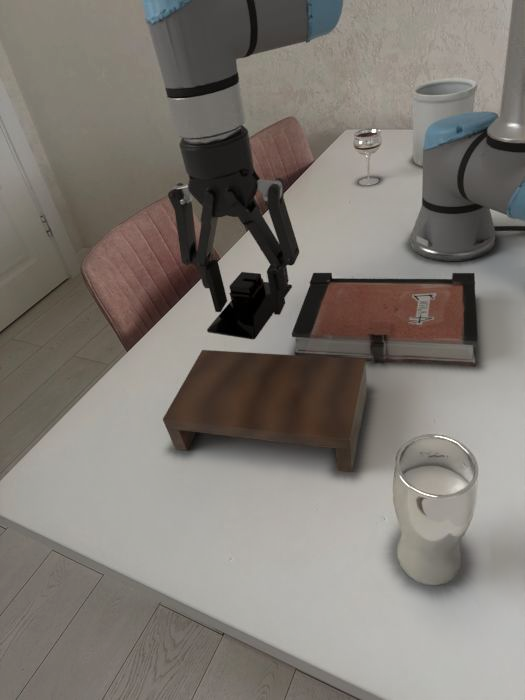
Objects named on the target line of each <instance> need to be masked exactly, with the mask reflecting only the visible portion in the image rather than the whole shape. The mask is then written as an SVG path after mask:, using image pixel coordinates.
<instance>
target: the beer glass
mask: <svg viewBox="0 0 525 700" xmlns="http://www.w3.org/2000/svg"><path fill="white" fill-rule="evenodd" d="M478 478H479V464H478V461H477V458H476V457H475V455H474V454H473V452H472V451H471V450H470V449H469V448H468V447H467V446H466V445H465V444H463V443H462V442H460V441H459V440H457V439H454V438H453V437H450V436H447V435H442V434H435V433H433V434H432V433H431V434H421V435H417V436H413V437H412V438H410V439H408V440H406V441H405V442H404V443H403V444H402V445H401V446H400V447H399V448H398V451H397V452H396V455H395V460H394V471H393V478H392V501H393V503H392V504H393V507H394V513H395V516H396V519H397V523H398V527H399V529H400V533H401V536H400V538H399V541H398V544H397V549H396V552H397V560H398V562H399V565H400V567H401V568H402V570H403V571H404V573H406V575H407V576H408V577H410V578H411V579H412V580H414V581H416V582H417V583H420V584H423V585H426V586H440V585H444V584H446V583H448V582H450V581H452V580H453V579H454V578H455V577H456V576H457V574H458V572H459V570H460V567H461V551H460V548H459V546H460V543H461V541H462V540H463V538H464V536H465V535H466V533H467V531H468V529H469V527H470V525H471V522H472V520H473V518H474V514H475V510H476V505H477V498H478V483H479V482H478V481H479V480H478Z"/></svg>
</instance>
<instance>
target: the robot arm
mask: <svg viewBox="0 0 525 700" xmlns="http://www.w3.org/2000/svg"><path fill="white" fill-rule="evenodd" d="M141 1H142V5H143V10H144V15H145V17H144V20H145V23H146V24H147V26H148V30H149V35H150V37H151V40H152V44H153V49H154V51H155V55H156V58H157V63H158V66H159V71H160V73H161V77H162V80H163V84H164V88H165V89H164V90H165V92H166V98H167V102H168V106H169V109H170V114H171V118H172V122H173V127H174V130H175V134H176V136H177V137H179V138H181V139H180V142H179V149H180V154H181V157H182V160H183V165H184V168H185V173H186V174H187V175H188V183H182V182H178V183H177V184H175V186H174V187H172V189H170V190H169V191H168V193H167V197H168V199H169V202H170V204H171V205H172V208H173V209H174V217H175V221H176V222H175V224H176V231H177V236H178V245H179V251H180V252H179V253H180V259H181V262H182V264H184V265H186V266H188V265H193V266H195V267H196V268H197V269H198V272H199V275H200V276H199V277H200V279H201V284H202V286H203V288H204V289H209V292H210V296H211V300H212V304H213V308H214V311H215V313H221V312H222V311H223V310H224V308H225V307H226V304H227V302H228V297H227V294H226V290H225V286H224V281H223V278H222V274H221V268H220V265H219V260H218V259H212V257H213V255H214V254H213V248H214V243H215V237H216V232H217V227H218V220H219V218H223V217H226V216H228V217H231V218H238V220H239V221H240V223H241V224H242V225H244V226H246V228H247V230H248V231H249V233H250V235H251V236H252V238H253V239H254V241H255V242H256V244H257V245H258V247H259V249H260V251H261V252H262V253H263V255H264V257H265V259H266V260H267V262H268V263H269V266H268V268H267V270H266V275H267V276H266V277H267V281H268V282H269V287H270V293H271V298H272V304H273V309H274V313H273V315H277V316H278V315H280V316H281V313H282V311H283V309H284V307H285V304H286V299H285V298H286V297H285V298H284V292H283V290H285V289H286V287H287V284H289V281H290V280H289V273H288V267H287V266H291V267H292V266H294V265H295V263H296V261H297V259H298V257H299V255H300V249H299V245H298V241H297V239H296V234H295V232H294V228H293V225H292V221H291V218H290V214H289V212H288V209H287V205H286V201H285V198H284V194H285V181H284V179H283V178H281V177H275V178H274V180H271V179H270V180H269V179H262V178H260V176H259V174H258V173H257V172H256V170H255V167H254V159H253V154H252V146H251V141H250V136H249V130H248V129H247V128H246V127H245V126H244V124H245V122H246V115H245V113H246V112H245V108H244V102H243V96H242V90H241V83H240V76H239V72H238V66H237V60H238V59H244V58H247V57H250V56H252V55H257V54H261V53H264V52H268V51H272V50H278V49H281V48H285V47H289V46H293V45H297V44H300V43H301V44H302V43H306V44H308V43H310V42H311V41H312V40H315V39H318V38H320V37H323V36H326V35H328V34H330V33H331V32H333V31H334V29H335V28H336V27H337V25H338V23H339V22H340V19H341V16H342V12H343V7H344V0H141ZM510 13H511V14H510V21H509V27H508V28H509V30H508V37H507V46H506V47H507V49H506V55H505V56H506V57H505V64H504V75H503V82H502V83H503V85H502V93H501V102H500V111H499V114H498V113H496V112H495V111H494V112H493V111H473V112H472V113H465V114H459V115H455V116H451V117H447V118H444V119H441V120H438V121H436V122H434V123H433V124H431V125H430V126H429V127H428V129H427V130H426V133H425V141H424V147H423V166H422V182H421V183H422V186H421V190H422V191H421V197H422V198H421V207H420V209H419V212H418V214H417V217H416V220H415V222H414V226H413V228H412V230H411V233H410V245H411V249H412V250H413V251H414V252H415V253H416V254H418V255H420V256H422V257H424V258H426V259H430V260H433V261H434V260H435V261H439V262H461V261H462V262H463V261H469V260H473V259H477V258H479V257H482V256H484V255H486V254H488V252H490V251H492V249H493V247H494V246H495V242H496V241H495V240H496V232H525V225H494V220H493V217H492V212H491V210H492V211H495V212H498V213H500V214H503V215H505V216H507V217H508V218H509V219H512V220H519V221H523V222H525V0H512V1H511V12H510ZM258 192H259V193H260V194H261V195H262V198H263V201H264V202H267V209H268V214H269V216H270V220H271V222H272V226H273V229H274V232H275V235H276V236H275V235H274V233H273V231H272V230H271V228H270V226H269V224H268V222H267V221H266V219H265V218H264V216H263V214H262V213H261V207H260V206H259V204H258V202H257V201H256V199H255V197H256V194H257V193H258ZM193 198H194V199H195V200H196V201H197V202H198V203H199V204H200V205H201V207H202V209H201V216H200V223H201V224H200V230H199V236H198V245H197V236H196V228H195V227H196V226H195V220H194V219H195V217H194V209H193V202H192V200H193Z"/></svg>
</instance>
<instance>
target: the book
mask: <svg viewBox="0 0 525 700" xmlns="http://www.w3.org/2000/svg"><path fill="white" fill-rule="evenodd" d="M475 274H476V273H475V272H452V275H451V278H347V277H346V278H345V277H344V278H340V277H339V278H338V277H337V278H333V273H332V272H313V273H312V276H311V278H310V281H309V286H308V289H307V291H306V293H305V294H306V295H305V296H304V299H303V301H302V305H301V307H300V310H299V313H298V315H297V318H296V320H295V324H294V326H293V329H292V331H291V337H292V338H295V342H296V343H295V344H296V348H295V350H294V355H298V356H315V357H332V358H349V359H365V361H373V363H374V364H376V363H377V364H384V362H395V363H408V364H409V363H411V364H412V363H413V364H427V365H433V364H434V365H447V366H463V367H464V366H465V367H475V366H476V353H475V352H476V348H475V346H478V344H479V335H478V333H479V332H478V317H477V301H476V275H475Z"/></svg>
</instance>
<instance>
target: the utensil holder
mask: <svg viewBox="0 0 525 700" xmlns="http://www.w3.org/2000/svg"><path fill="white" fill-rule="evenodd" d="M477 89H478V81H477V80H475V79H472V78H466V77H445V78H438V79H433V80H428V81H424V82H423V83H420V84H417V85H416V86H414V87H413V88H412V90H411V91H412V93H411V96H412V98H413V99H412V101H413V102H412V161H413V163H414V164H416V165H418V166H420V167H423V147H424V141H425V133H426V130H427V129H428V127H429V126H430V125H431V124H433V123H434V122H436V121H438V120H441V119H444V118H447V117H451V116H455V115H459V114H465V113H472V112H474V107H475V97H476V92H477Z"/></svg>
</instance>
